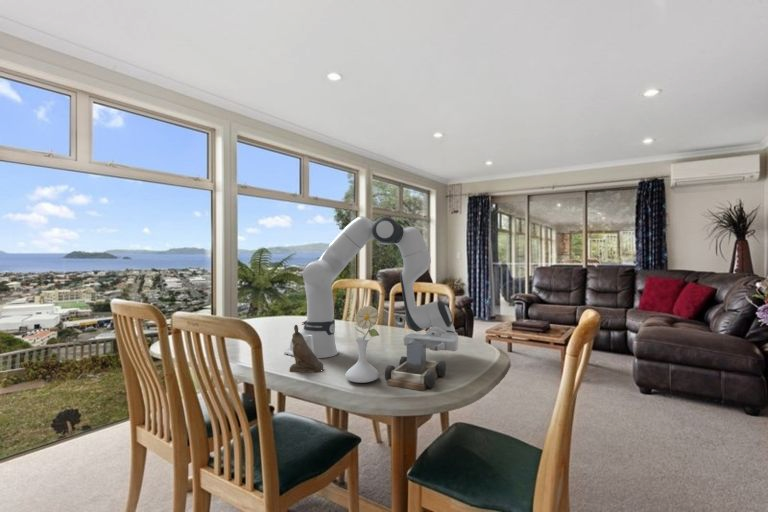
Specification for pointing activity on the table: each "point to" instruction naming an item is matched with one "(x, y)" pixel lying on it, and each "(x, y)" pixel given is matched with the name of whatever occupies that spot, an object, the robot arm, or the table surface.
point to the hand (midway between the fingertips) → (423, 346)
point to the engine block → (416, 358)
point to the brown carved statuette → (303, 355)
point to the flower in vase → (364, 347)
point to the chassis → (414, 375)
